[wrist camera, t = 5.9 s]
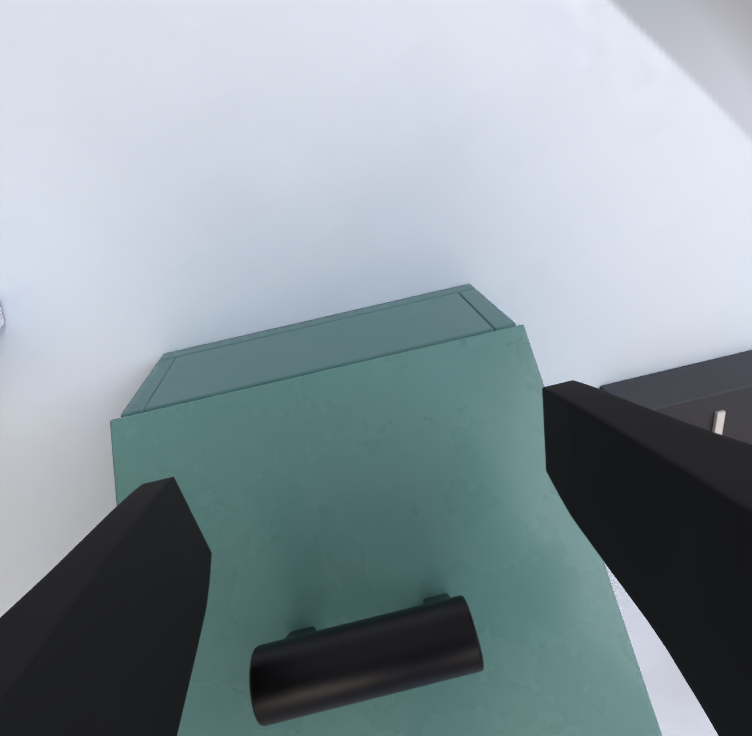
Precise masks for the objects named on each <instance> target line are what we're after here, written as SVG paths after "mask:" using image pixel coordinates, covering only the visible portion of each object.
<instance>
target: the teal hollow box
mask: <svg viewBox="0 0 752 736" xmlns="http://www.w3.org/2000/svg"><path fill="white" fill-rule="evenodd" d="M514 326H516V324H515V323H514V322H513V321H512V320H511V319H510V318H509V317H507V316H506V315H505V314H504V313H503V312H502V311H500V310H499V309H498V308H497V307H496V306H495V305H494V304H492V303H491V302H490V301H489V300H488V299H487V298H486V297H484V296H483V295H482V294H481V293H480V292H479V291H477V290H476V289H475V288H474V287H473V286H472V285H471V284H467V285H463V286H458V287H454V288H450V289H445V290H441V291H436V292H432V293H428V294H423V295H419V296H415V297H410V298H406V299H402V300H397V301H393V302H388V303H384V304H380V305H375V306H371V307H367V308H362V309H358V310H354V311H349V312H345V313H340V314H336V315H332V316H327V317H323V318H319V319H314V320H310V321H306V322H301V323H297V324H292V325H288V326H284V327H279V328H275V329H271V330H266V331H262V332H258V333H253V334H249V335H244V336H240V337H236V338H231V339H227V340H223V341H218V342H214V343H210V344H205V345H201V346H196V347H192V348H188V349H183V350H179V351H175V352H170V353H166V354H163V355H162V357H161V358H160V360H159V362H158V363H157V364H156V366H155V367H154V368H153V370H152V371H151V373H150V374H149V376H148V377H147V378H146V380H145V381H144V383H143V384H142V386H141V387H140V388H139V390H138V391H137V393H136V394H135V395H134V397H133V398H132V400H131V401H130V403H129V404H128V405H127V407H126V408H125V410H124V411H123V413H122V414H121V417H126V416H131V415H135V414H139V413H144V412H148V411H152V410H157V409H161V408H165V407H169V406H174V405H178V404H182V403H187V402H191V401H195V400H200V399H204V398H208V397H213V396H217V395H221V394H225V393H230V392H234V391H238V390H243V389H247V388H251V387H256V386H260V385H264V384H268V383H273V382H277V381H281V380H286V379H290V378H294V377H299V376H303V375H307V374H311V373H316V372H320V371H324V370H329V369H333V368H337V367H342V366H346V365H350V364H354V363H359V362H363V361H367V360H372V359H376V358H380V357H385V356H389V355H393V354H397V353H402V352H406V351H410V350H415V349H419V348H423V347H428V346H432V345H436V344H441V343H445V342H449V341H453V340H458V339H462V338H466V337H471V336H475V335H479V334H484V333H488V332H492V331H496V330H501V329H505V328H509V327H514Z"/></svg>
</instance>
